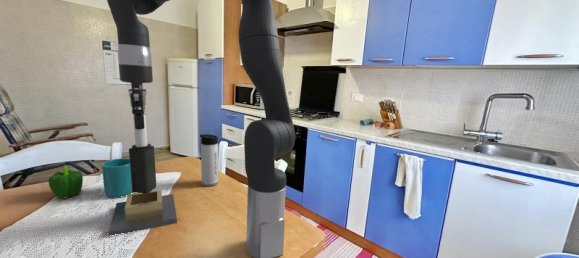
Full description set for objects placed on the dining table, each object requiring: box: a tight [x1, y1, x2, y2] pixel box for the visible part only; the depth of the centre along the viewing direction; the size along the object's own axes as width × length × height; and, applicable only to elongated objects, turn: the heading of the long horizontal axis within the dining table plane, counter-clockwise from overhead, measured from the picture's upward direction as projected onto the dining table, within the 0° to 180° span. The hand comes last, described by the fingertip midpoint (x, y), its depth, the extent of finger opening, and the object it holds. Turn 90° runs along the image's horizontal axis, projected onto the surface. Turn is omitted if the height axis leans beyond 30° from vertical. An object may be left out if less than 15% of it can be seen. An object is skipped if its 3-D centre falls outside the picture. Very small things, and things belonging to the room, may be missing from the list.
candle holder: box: [107, 188, 178, 237], centre depth 73 cm, size 16×16×6 cm
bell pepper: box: [48, 164, 84, 199], centre depth 81 cm, size 8×8×10 cm
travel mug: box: [199, 134, 219, 187], centre depth 95 cm, size 6×7×20 cm
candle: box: [128, 107, 157, 194], centre depth 69 cm, size 5×5×25 cm
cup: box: [101, 157, 133, 198], centre depth 86 cm, size 9×12×11 cm
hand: (140, 127), depth 68 cm, fingers closed on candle, 3 cm apart
